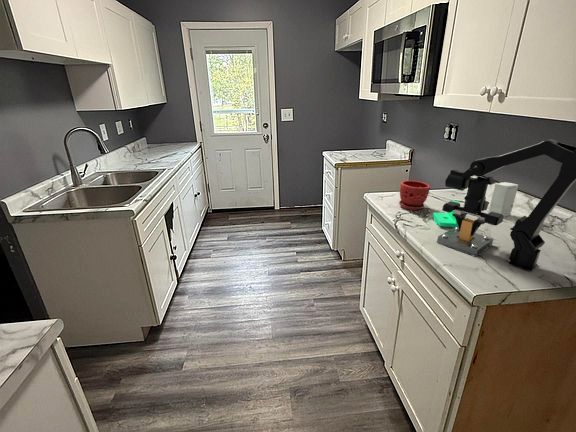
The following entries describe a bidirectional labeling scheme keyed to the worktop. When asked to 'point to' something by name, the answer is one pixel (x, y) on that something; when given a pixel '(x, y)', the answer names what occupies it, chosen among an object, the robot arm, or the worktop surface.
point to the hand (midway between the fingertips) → (466, 234)
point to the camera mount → (445, 218)
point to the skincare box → (503, 198)
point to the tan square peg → (466, 229)
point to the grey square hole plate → (465, 242)
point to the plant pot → (413, 194)
